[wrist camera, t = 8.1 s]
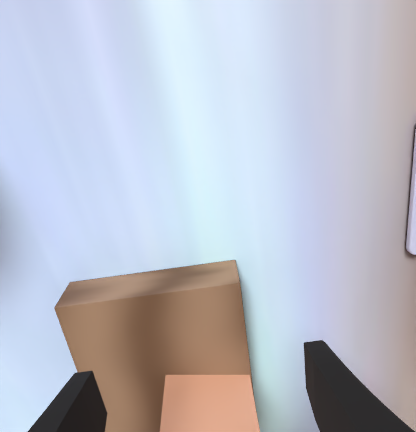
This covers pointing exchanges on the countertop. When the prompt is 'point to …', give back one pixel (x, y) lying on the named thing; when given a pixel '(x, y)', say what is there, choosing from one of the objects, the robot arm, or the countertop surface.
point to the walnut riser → (154, 335)
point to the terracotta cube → (208, 404)
